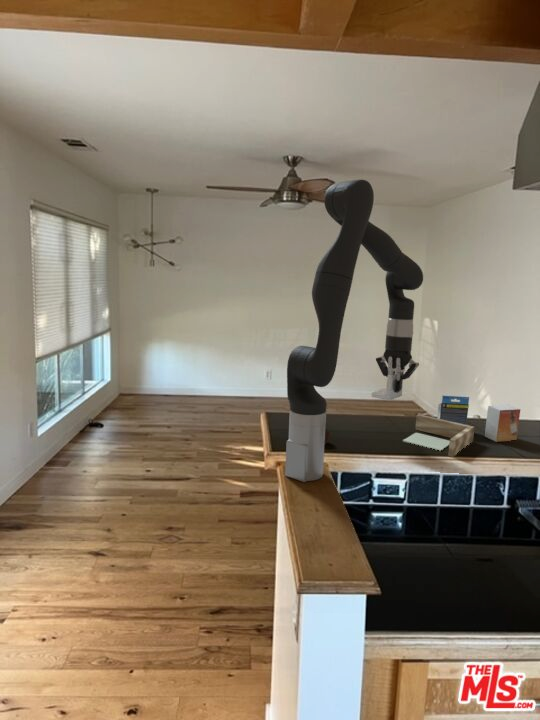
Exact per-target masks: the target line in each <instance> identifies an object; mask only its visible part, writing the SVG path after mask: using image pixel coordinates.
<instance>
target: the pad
mask: <svg viewBox="0 0 540 720" xmlns="http://www.w3.org/2000/svg"><path fill="white" fill-rule="evenodd" d="M402 442H403V443H407V444H410V443H411V445H414V444H415V446H418V445H419V447H422V446H423V447H422V448H426V447H427V448H426V449H430V448H432V449H431V450H433V449H435V450H434V451H437V450H439V451H438V452H441V450H442V451H444V448H445V449H446V448H447V447H449V442H450V439H449V440H448V439H443V438H439V437H435V436H432V435H428V434H423V433H420V432H414V433H412V434H411V435H409V436H408V437H406V438H404V439H402Z"/></svg>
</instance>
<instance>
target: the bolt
mask: <svg viewBox="0 0 540 720" xmlns="http://www.w3.org/2000/svg"><path fill="white" fill-rule="evenodd" d="M330 438H331V434H330V432H329V430H328V428H327V427H326V426H325V444H324V445H327V444H328V442H329V440H330Z"/></svg>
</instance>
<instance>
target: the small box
mask: <svg viewBox="0 0 540 720" xmlns="http://www.w3.org/2000/svg"><path fill="white" fill-rule="evenodd" d="M520 416H521V409H520V408H519V407H516V406H513V405H510V404H505V405H504V404H503V405H501V404H499V405H488V406H487V413H486V420H485V421H486V422H485V430H484V437H485V438H488V439H490V440H491V441H494V442H496V443H497V442H499V443H500V442H512V441H511V440H516V441H517V437H518V430H519V424H520Z"/></svg>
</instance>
